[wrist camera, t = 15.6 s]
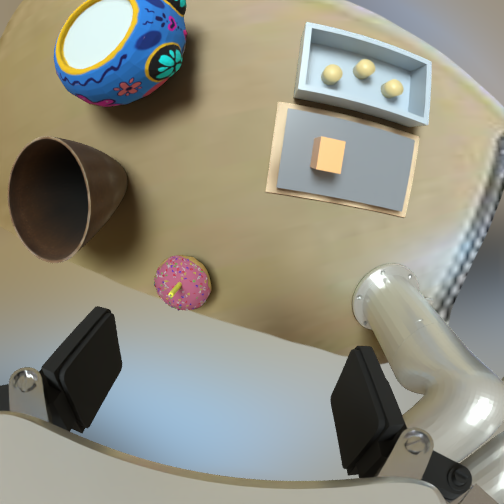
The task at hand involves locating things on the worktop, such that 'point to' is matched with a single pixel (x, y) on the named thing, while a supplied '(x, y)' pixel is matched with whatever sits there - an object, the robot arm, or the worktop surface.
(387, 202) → the lid
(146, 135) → the worktop surface
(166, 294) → the cupcake
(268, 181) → the mat
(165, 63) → the ceramic pot
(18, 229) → the plant pot
